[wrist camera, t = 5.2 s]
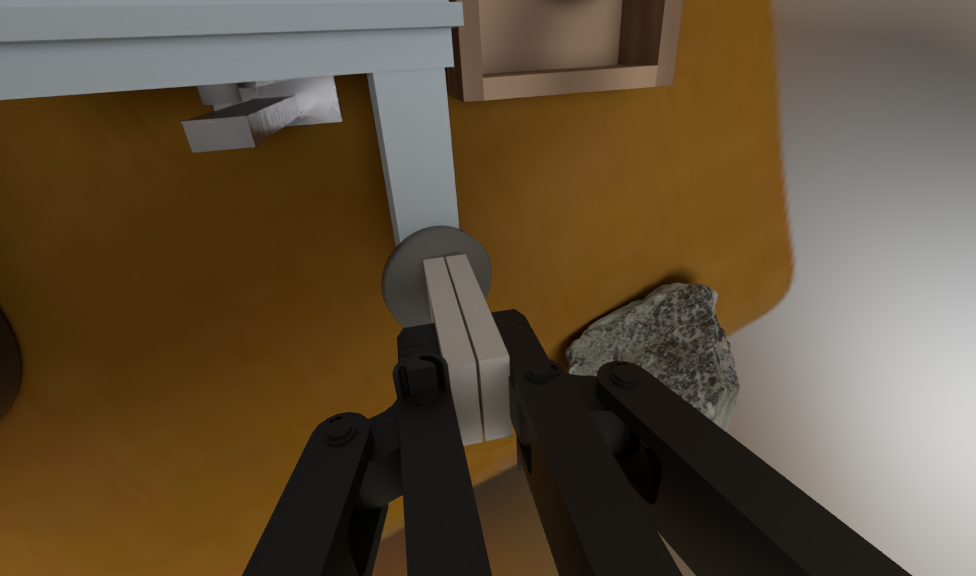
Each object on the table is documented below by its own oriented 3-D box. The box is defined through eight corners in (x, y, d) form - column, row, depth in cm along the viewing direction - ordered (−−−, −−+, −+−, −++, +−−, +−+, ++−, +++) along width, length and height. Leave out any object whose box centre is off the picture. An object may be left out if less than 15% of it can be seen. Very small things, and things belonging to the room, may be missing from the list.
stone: (715, 391, 19) (705, 530, 24) (760, 281, 25) (745, 407, 30) (529, 340, 25) (551, 460, 29) (604, 261, 31) (612, 370, 36)
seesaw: (82, 422, 14) (51, 492, 12) (-588, -571, 6) (-1154, -1010, 3) (478, 301, 20) (511, 332, 18) (433, -297, 11) (485, -393, 9)
